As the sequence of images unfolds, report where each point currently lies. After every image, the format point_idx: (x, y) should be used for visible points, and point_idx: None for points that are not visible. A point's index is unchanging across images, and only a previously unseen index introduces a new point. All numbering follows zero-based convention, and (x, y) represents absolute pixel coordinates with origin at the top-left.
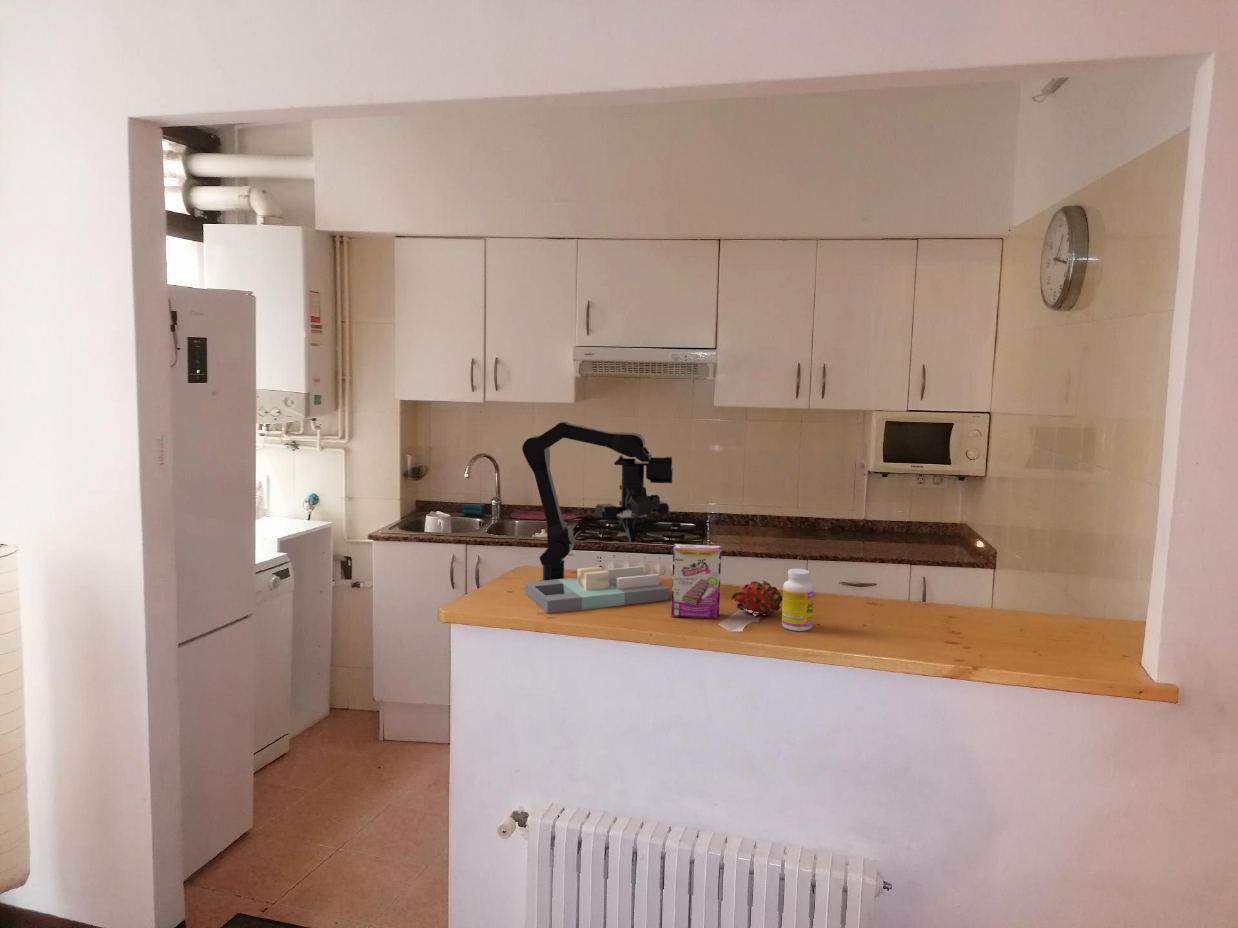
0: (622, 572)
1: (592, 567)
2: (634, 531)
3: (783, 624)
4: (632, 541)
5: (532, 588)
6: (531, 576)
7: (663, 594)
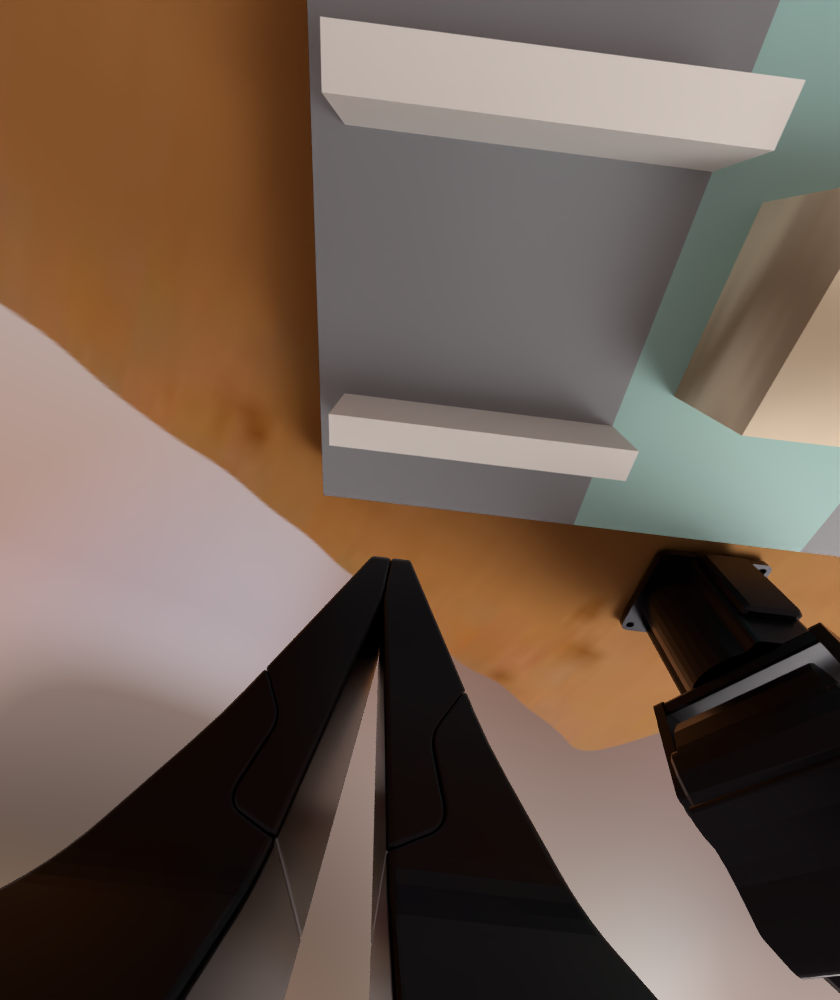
0: (496, 424)
1: (815, 436)
2: (354, 664)
3: None
4: (396, 562)
5: None
6: (658, 692)
7: None
